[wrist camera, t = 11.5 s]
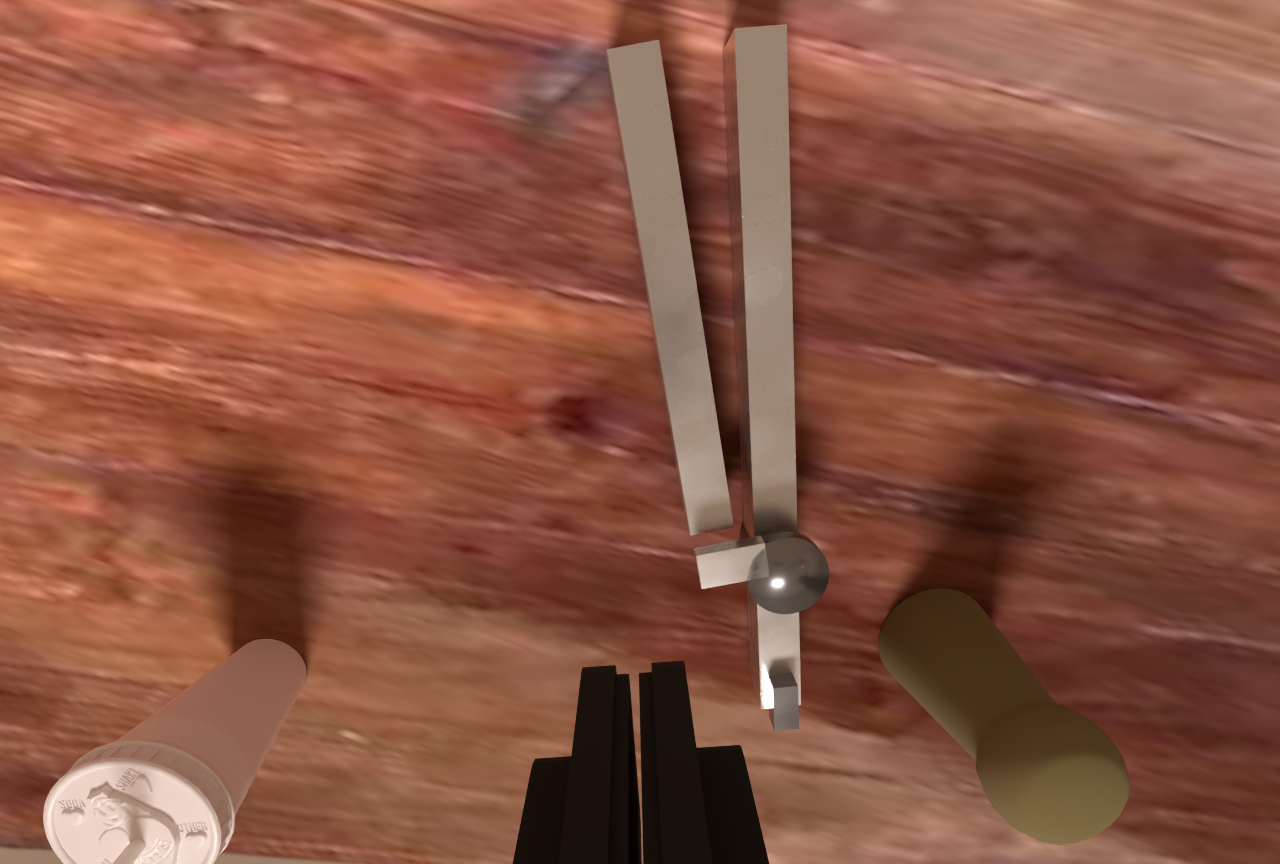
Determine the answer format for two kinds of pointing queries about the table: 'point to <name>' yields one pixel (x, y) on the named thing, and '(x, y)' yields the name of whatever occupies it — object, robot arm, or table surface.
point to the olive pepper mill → (1005, 719)
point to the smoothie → (178, 768)
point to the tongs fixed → (764, 334)
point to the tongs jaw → (692, 347)
